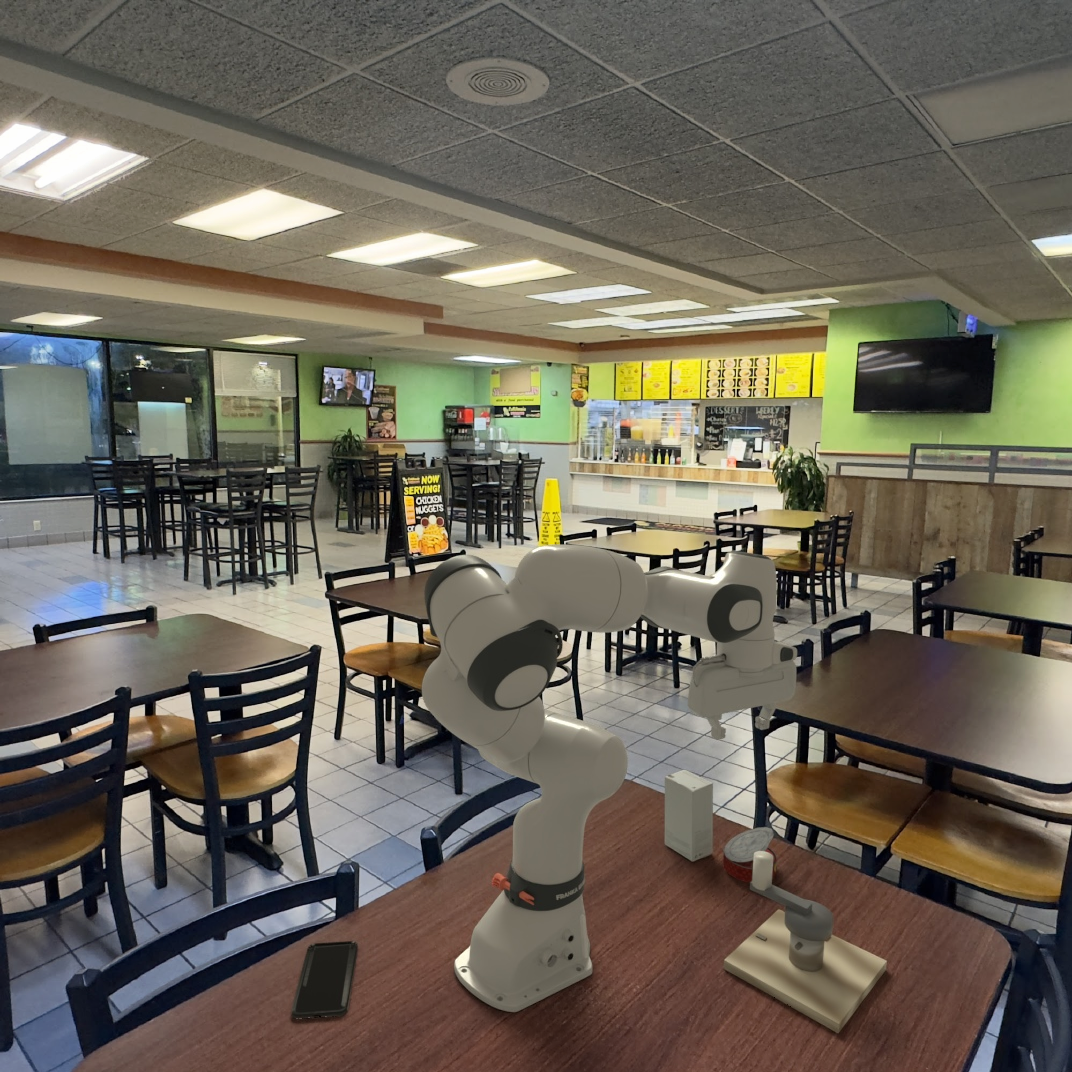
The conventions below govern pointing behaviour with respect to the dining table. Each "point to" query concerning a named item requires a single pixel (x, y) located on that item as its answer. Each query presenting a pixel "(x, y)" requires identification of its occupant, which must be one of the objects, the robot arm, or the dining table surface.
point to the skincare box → (689, 815)
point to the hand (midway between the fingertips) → (740, 733)
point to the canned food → (747, 852)
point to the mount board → (807, 971)
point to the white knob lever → (791, 903)
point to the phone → (325, 980)
